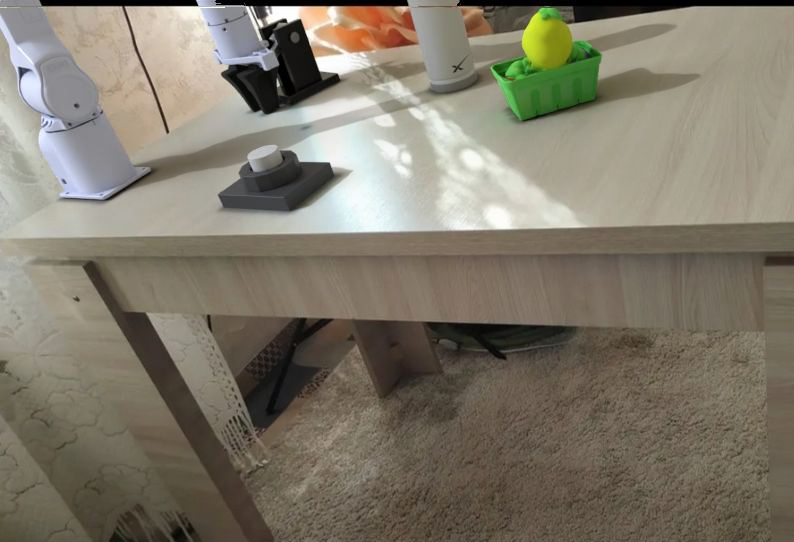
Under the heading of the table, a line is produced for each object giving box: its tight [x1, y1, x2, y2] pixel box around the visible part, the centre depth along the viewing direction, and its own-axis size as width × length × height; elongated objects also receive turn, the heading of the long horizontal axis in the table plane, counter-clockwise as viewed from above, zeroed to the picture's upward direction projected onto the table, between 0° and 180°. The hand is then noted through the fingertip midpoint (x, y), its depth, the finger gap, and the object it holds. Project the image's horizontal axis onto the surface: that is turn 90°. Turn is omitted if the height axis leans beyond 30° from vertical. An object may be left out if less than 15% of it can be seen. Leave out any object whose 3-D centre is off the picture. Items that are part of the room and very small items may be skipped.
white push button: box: [246, 144, 283, 172], centre depth 83 cm, size 3×3×2 cm
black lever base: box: [257, 17, 342, 106], centre depth 112 cm, size 9×7×10 cm
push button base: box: [217, 149, 335, 212], centre depth 85 cm, size 10×8×4 cm
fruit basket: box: [490, 6, 603, 121], centre depth 85 cm, size 11×9×11 cm
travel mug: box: [407, 0, 478, 94], centre depth 96 cm, size 6×7×20 cm
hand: (268, 113), depth 112 cm, fingers closed on flush lever, 3 cm apart
